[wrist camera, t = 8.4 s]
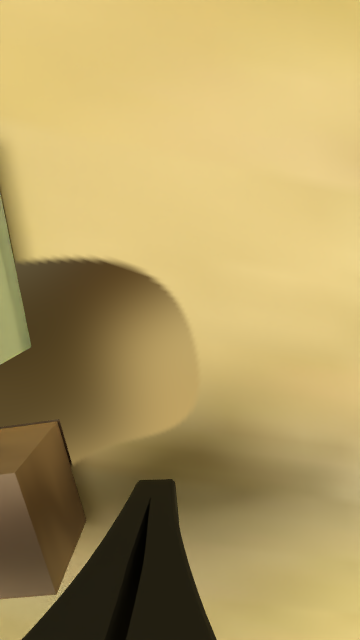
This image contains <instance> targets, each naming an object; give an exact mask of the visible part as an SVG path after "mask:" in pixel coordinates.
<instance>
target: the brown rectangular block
mask: <svg viewBox="0 0 360 640" xmlns="http://www.w3.org/2000/svg"><path fill="white" fill-rule="evenodd" d="M71 465H72V461H71V458H70V455H69V451H68V448H67V444H66V441H65V438H64V434H63V430H62V427H61V423H60V420H59V419H56V420H48V421H41V422H33V423H26V424H18V425H11V426H4V427H0V599H7V598H19V597H31V596H44V595H56V594H57V592H58V589H59V587H60V584H61V582H62V579H63V577H64V574H65V572H66V569H67V567H68V564H69V562H70V559H71V557H72V555H73V552H74V550H75V547H76V545H77V542H78V540H79V537H80V535H81V532H82V530H83V527H84V525H85V523H86V518H85V515H84V511H83V508H82V504H81V501H80V498H79V494H78V491H77V487H76V484H75V480H74V477H73V474H72V470H71V467H70V466H71Z"/></svg>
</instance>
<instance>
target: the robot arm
mask: <svg viewBox="0 0 360 640" xmlns="http://www.w3.org/2000/svg"><path fill="white" fill-rule="evenodd" d="M22 640H216V637H215V635H214V632H213V630H212V627H211V625H210V623H209V620H208V618H207V615H206V613H205V610H204V607H203V604H202V602H201V599H200V596H199V593H198V591H197V588H196V585H195V582H194V579H193V576H192V573H191V569H190V566H189V563H188V559H187V556H186V552H185V549H184V545H183V541H182V537H181V533H180V528H179V517H178V507H177V497H176V487H175V482H174V481H173V480H172V479H166V480H140V481H139V482H138V483H137V484H136V486H135V488H134V490H133V492H132V493H131V495H130V497H129V499H128V501H127V502H126V504H125V506H124V507H123V509H122V511H121V512H120V514H119V516H118V517H117V519H116V520H115V522H114V524H113V525H112V527H111V528H110V530H109V531H108V533H107V535H106V536H105V538H104V539H103V540H102V542H101V543H100V545H99V546H98V548H97V549H96V550H95V552H94V553H93V555H92V556H91V558H90V559H89V560H88V562H87V563H86V564H85V566H84V567H83V568H82V570H81V571H80V572H79V574H78V575H77V576H76V578H75V579H74V580H73V581H72V583H71V584H70V585H69V586H68V588H67V589H66V590H65V591H64V593H63V594H62V595H61V596H60V597H59V598H58V600H57V601H56V602H55V603H54V604H53V605H52V607H51V608H50V609H49V610H48V611H47V612H46V614H45V615H44V616H43V617H42V618H41V619H40V620H39V621H38V623H37V624H36V625H35V626H34V627H33V628H32V629H31V630H30V631H29V632H28V633H27V635H26V636H25V637H24V638H23V639H22Z"/></svg>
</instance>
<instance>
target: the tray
mask: <svg viewBox="0 0 360 640" xmlns="http://www.w3.org/2000/svg"><path fill="white" fill-rule="evenodd" d="M29 348H31V342H30V337H29V332H28V327H27V322H26V318H25V312H24V307H23V302H22V297H21V293H20V288H19V283H18V278H17V273H16V268H15V263H14V258H13V253H12V248H11V243H10V238H9V233H8V228H7V223H6V219H5V214H4V209H3V204H2V199H1V194H0V364H2V363H4V362H5V361H7V360H9V359H11V358H13V357H14V356H16V355H18V354H20V353H22V352H23V351H25V350H27V349H29Z"/></svg>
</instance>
